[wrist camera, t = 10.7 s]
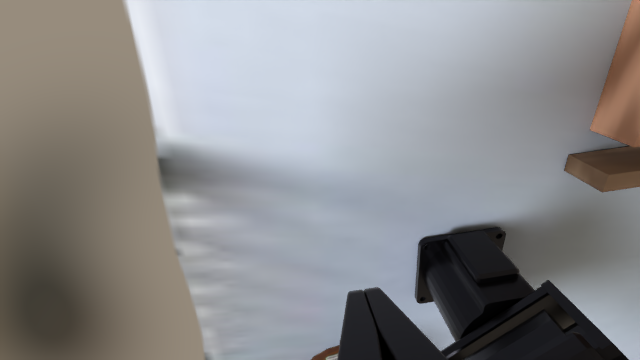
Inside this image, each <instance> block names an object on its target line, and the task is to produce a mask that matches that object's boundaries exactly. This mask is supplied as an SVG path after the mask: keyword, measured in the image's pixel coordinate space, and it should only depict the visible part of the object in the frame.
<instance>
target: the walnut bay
mask: <svg viewBox="0 0 640 360" xmlns="http://www.w3.org/2000/svg"><path fill="white" fill-rule="evenodd" d="M564 171H566V172H568V173H569V174H571V175H573V176H575V177H576V178H578V179H580V180H582V181H583V182H585V183H587V184H589V185H590V186H592V187H594V188H596V189H597V190H599V191H601V192H607V191H614V190H621V189H627V188H634V187H640V147H632V146H628V147H620V148H613V149H606V150H599V151H592V152H585V153H578V154H571V155H569V156H568V159H567V162H566V166H565V169H564Z"/></svg>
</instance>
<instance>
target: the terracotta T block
mask: <svg viewBox="0 0 640 360" xmlns="http://www.w3.org/2000/svg"><path fill="white" fill-rule="evenodd" d="M590 130H591V131H594V132H596V133H599V134H601V135H604V136H606V137H609V138H611V139H614V140H617V141H619V142H622V143H624V144H627V145H629V146H632V147H640V0H632V2H631V5H630V8H629V11H628V14H627V17H626V21H625V24H624V27H623V30H622V33H621V36H620V39H619V42H618V45H617V48H616V51H615V54H614V57H613V60H612V63H611V66H610V69H609V73H608V76H607V79H606V82H605V85H604V88H603V91H602V94H601V97H600V100H599V103H598V106H597V109H596V112H595V115H594V118H593V121H592V125H591V128H590Z"/></svg>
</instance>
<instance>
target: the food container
mask: <svg viewBox="0 0 640 360" xmlns="http://www.w3.org/2000/svg"><path fill="white" fill-rule="evenodd" d="M339 346H340V345H338V346H335V347H332V348H329V349H326V350H325V351H323V352H321V353H319V354H318V355H316V356H314V357H313V358H312V359H311V360H337V358H338V352H339Z"/></svg>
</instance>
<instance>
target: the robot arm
mask: <svg viewBox="0 0 640 360" xmlns="http://www.w3.org/2000/svg"><path fill="white" fill-rule="evenodd" d="M505 236H506V233H505V232H504V231H503V230H502V229H501V228H491V229H484V230H478V231H471V232H465V233H458V234H451V235H445V236H438V237H432V238H425V239H422V240H421V241H420V242H419V244H418V258H417V272H416V287H415V298H416V301H417V302H418V303H427V302H435V304H436V305H437V307H438V309H439V311H440V313H441V315H442V317H443V319H444V321H445V322H446V324H447V326H448V328H449V330H450V332H451V334H452V336H453V338H454V339H455V341H456V342H454V343H453V344H451V345H450V346H448V347H447V348H445V349H444V350H442V351H440V350H439V349H438V348H437V347H436V346H435V345H434V344H433V343H432V342H431V341H430V340H429V339H428V338H427V337H426V336H425V335H424V334H423V333H422V332H421V331H420V330H419V329H418V328H417V326H416V325H415V324H414V323H413V322H412V321H411V320H410V319H409V318H408V317H407V316H406V315H405V314H404V313H403V312H402V311H401V310H400V309H399V308H398V307H397V306H396V305H395V304H394V302H393V301H392V300H391V299H390V298H389V297H388V296H387V295H386V294H385V293H384V292H383V291H382V290H381V289H380V288H378V287H375V288H369V289H365V290H364V291H363V290H356V291H350V292H349V293H348V296H347V302H346V308H345V315H344V321H343V327H342V333H341V340H340V346H339V352H338V358H337V360H629V359H628V358H627V357H626V356H625V355H624V354H623V353H622V352H621V351H620V350H619V349H618V348H617V347H616V346H615V345H614V344H613V343H612V342H611V341H610V340H609V339H608V338H607V337H606V336H605V335H604V334H603V333H602V332H601V331H600V330H599V329H598V328H597V327H596V326H595V325H594V324H593V323H592V322H591V321H590V320H589V319H588V318H587V317H586V316H585V315H584V314H583V313H582V312H581V311H580V310H579V309H578V308H577V307H576V306H575V305H574V304H573V303H572V302H571V301H570V300H569V299H568V298H567V297H566V296H564V295H563V294H562V293H561V292H560V291H559V290H558V289H557V288H556V287H555V286H554V285H553V284H552V283H551V282H550V281H549V280H547V281H546V282H544V283H543V284H541V287H540V288H538V289H537V290H534V289H533V288H532V287H531V286H530V285H529V284H528V282H527V281H526V280H525V279H524V278H523V277H522V276H521V275H520V274H519V269H518V268H517V267H516V266H515V265H514V264H513V263H512V261H511V260H510V259H509V258H508V257H507V256H506V255H505V254H504V253H503V252H502V249H503V244H504V240H505ZM425 245H427V246H425Z"/></svg>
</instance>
